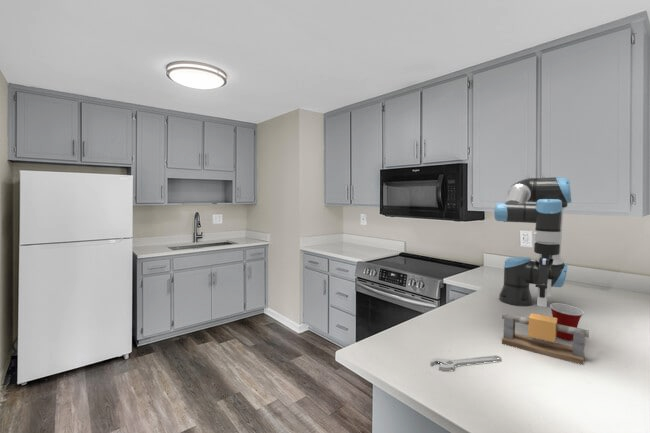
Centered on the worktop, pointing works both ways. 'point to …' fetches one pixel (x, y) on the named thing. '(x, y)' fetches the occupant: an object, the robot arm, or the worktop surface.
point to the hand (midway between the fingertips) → (544, 301)
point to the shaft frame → (544, 346)
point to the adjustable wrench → (462, 362)
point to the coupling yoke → (542, 327)
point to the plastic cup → (566, 318)
